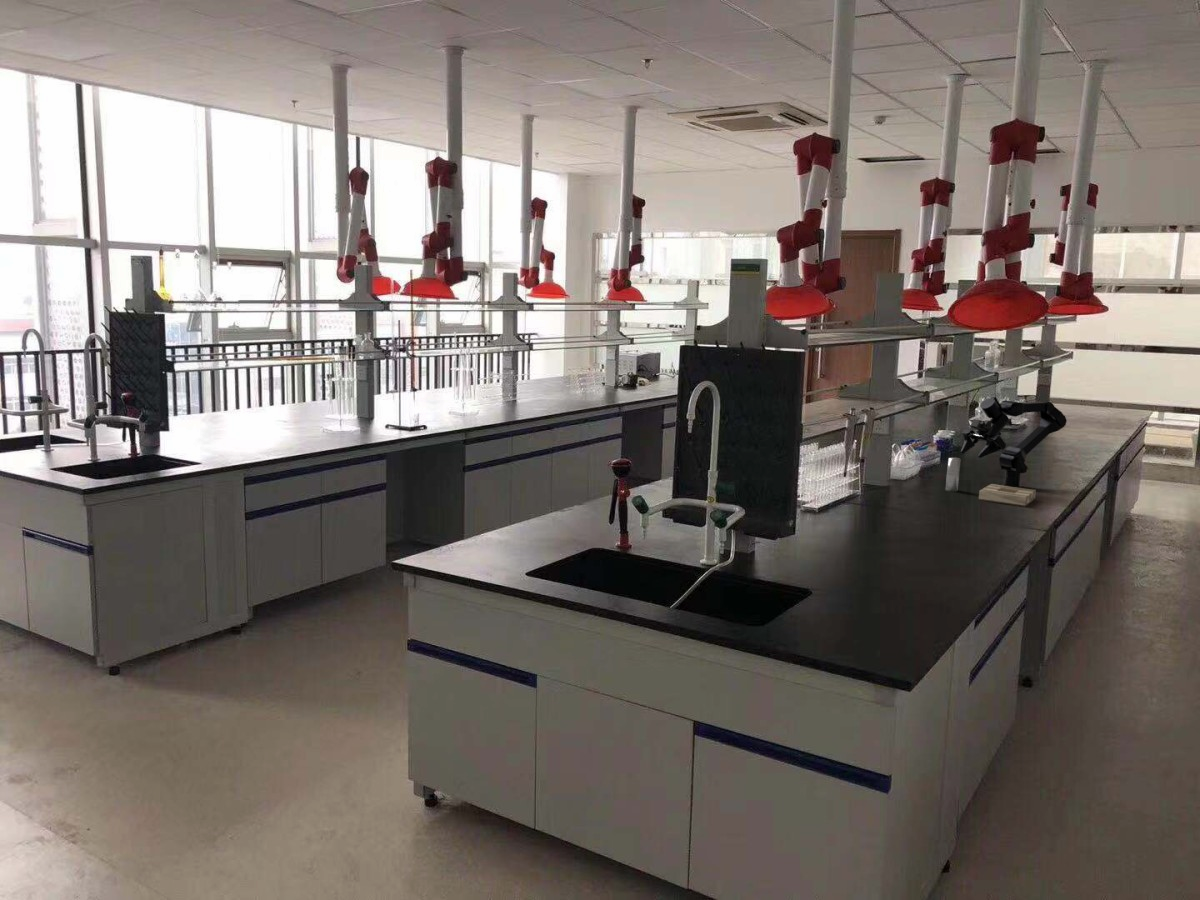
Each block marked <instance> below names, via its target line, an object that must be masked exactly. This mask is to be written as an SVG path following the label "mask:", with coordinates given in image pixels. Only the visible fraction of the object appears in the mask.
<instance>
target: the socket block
mask: <svg viewBox="0 0 1200 900" xmlns="http://www.w3.org/2000/svg"><path fill="white" fill-rule="evenodd" d="M1036 490H1037V489H1029V488H1023V487H1020V488H1016V487H1009V486H1002V484H1001V485H999V484H995V483H991V484H989V485H987V486H985V487H983V488H981V489H980V490H979V493H978V500H979V501H984V502H989V503H998V504H1004V505H1011V506H1017V507H1024V508H1025V507H1027V506H1028V505H1029V504H1031V503H1032V502H1033V501H1035V500H1036V493H1037V491H1036Z"/></svg>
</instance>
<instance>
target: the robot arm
mask: <svg viewBox="0 0 1200 900" xmlns="http://www.w3.org/2000/svg"><path fill="white" fill-rule="evenodd" d="M979 406H980V407H979V408H981V410H982V411H983V413H984V414H985V416H986V418H988V419H990V420H988V419H985V420H981V419H975V418H973V420H972V422H971V424H970V428H973V429H975V431H974V430H973V429H967V428H965V429H963V431H961V435H962V437H963V439H964V440H963V443H962V447H961V450H960V454H961V455H963V454H965V453H966V452H967V451H969V450H971V449H972V448H974V447H975V446H976V444H977V443H979V441H980V442H984V443H985V445H984V446H983V448H982V449H981V450H980V452H979V453H978V455H977V457H978V459H981V458H983V457H986V456H988V455H991V454H994V453H996V452H1000V451H1001V454H1000V455H999V465H1000V469H1001V470H1003V471H1005V474H1004V482H1003V483H1002V484H1001V485H1002V486H1009V487H1016V488H1022V487H1023V484H1021V479H1022V478H1021V477H1022V474H1026V473H1027V471H1028V466H1027V464H1026V463H1025V462H1026V458H1027V455H1028V454H1029V453H1030V452H1032V451H1033V450H1034V449H1035V448H1036V447H1037V446H1038V445H1039V444H1040V443H1041V442H1042V441H1044V439H1045V438H1046V437H1048V435H1050V434H1052V433H1056V432H1058V431H1060V430H1062V429H1063V428H1065V426H1066V424H1067V417H1066V415H1064V413H1063V412H1062V411H1061V410H1060V409H1058V408H1057V407H1056V406H1055V404H1053V402H1051V401H1047V400H1040V401H1023V402H1018V401H1013V400H1002V401H1001V402H999V400H998V397H996V396H992V395H991V396H990V398H986V399H985V400H982V401H981V402H980V405H979ZM1026 413H1039V417H1040V420H1039V421H1040V422H1039V426H1037V428H1035V429H1034V430H1033V431H1032V432H1030V433H1029V435H1027V436H1026V438H1024V439H1023V440H1021V442H1020V443H1019V444H1018V445H1016V446H1010V445H1008V446H1007V447H1006V445H1007V443H1006V441H1004V439H1003V437H1002V436H1001V435H1002V433H1001V431H1002V430H1003V429H1004V428H1005V427H1006V426H1009V427H1012V426H1013V422H1012V418H1010V417H1019V416H1022V415H1023V414H1026ZM1008 416H1009V417H1008ZM976 433H977V434H976Z"/></svg>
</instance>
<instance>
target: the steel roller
mask: <svg viewBox="0 0 1200 900" xmlns="http://www.w3.org/2000/svg"><path fill="white" fill-rule="evenodd" d="M947 459H948V460H947V466H946V467H947V468H946V479H945V491H947V492H958V490H959V480H960V479H959V478H960V469H961V458H959V457H948V458H947Z"/></svg>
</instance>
